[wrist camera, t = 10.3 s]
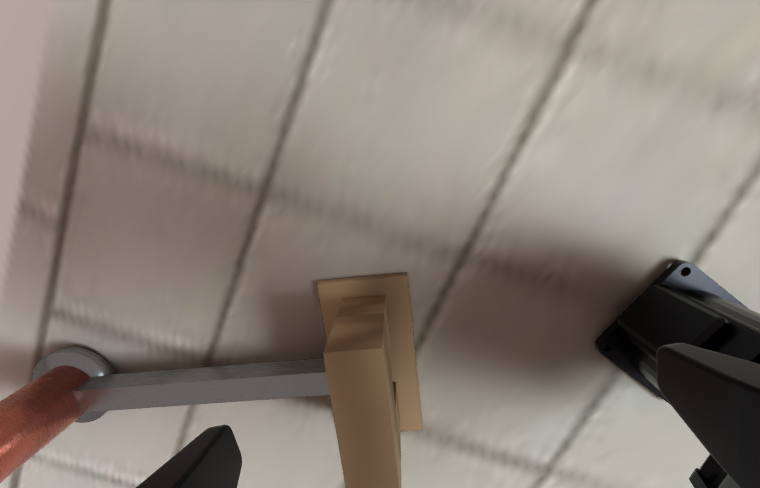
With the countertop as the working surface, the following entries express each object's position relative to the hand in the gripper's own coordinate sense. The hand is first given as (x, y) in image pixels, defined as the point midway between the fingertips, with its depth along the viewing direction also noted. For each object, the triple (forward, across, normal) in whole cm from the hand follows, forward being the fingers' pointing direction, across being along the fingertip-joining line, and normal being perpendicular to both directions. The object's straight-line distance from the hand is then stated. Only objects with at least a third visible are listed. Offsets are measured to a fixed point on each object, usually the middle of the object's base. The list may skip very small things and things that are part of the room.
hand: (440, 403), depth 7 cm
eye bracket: (+12, +3, +6) cm, 14 cm away
